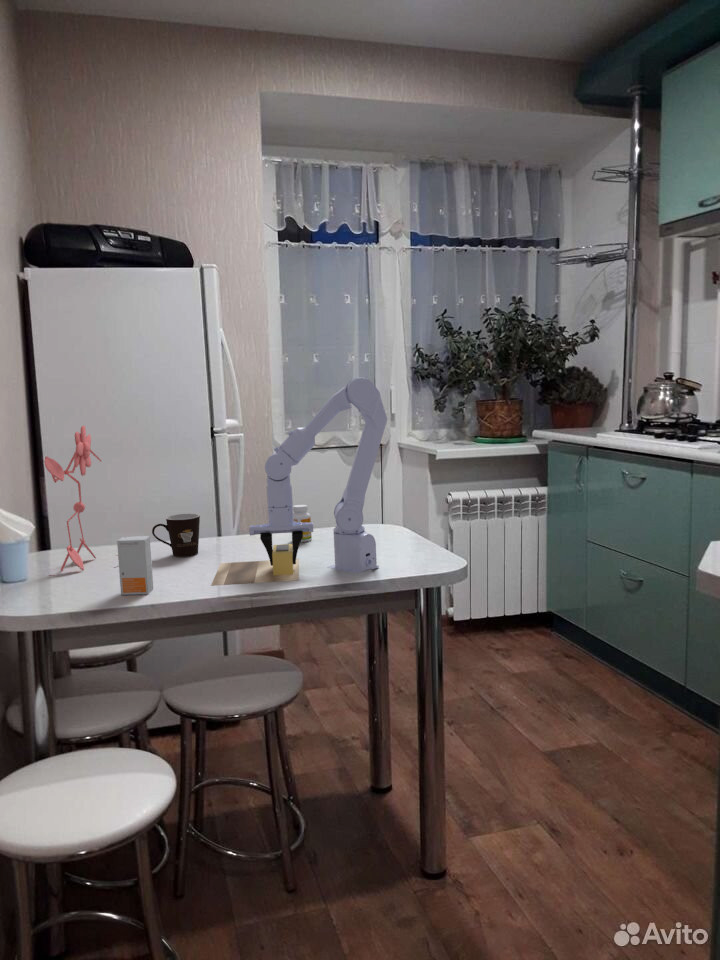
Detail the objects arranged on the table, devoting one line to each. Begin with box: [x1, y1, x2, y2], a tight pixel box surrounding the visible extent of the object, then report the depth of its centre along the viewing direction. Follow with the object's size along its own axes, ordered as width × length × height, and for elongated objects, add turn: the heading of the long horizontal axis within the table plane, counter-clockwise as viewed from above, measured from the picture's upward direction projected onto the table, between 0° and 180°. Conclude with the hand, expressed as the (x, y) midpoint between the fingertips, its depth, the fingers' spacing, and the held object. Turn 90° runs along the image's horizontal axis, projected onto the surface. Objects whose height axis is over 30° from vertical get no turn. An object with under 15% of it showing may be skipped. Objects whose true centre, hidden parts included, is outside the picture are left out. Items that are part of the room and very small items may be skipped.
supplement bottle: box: [293, 504, 312, 543], centre depth 208 cm, size 5×5×10 cm
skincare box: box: [116, 535, 154, 596], centre depth 162 cm, size 6×4×12 cm
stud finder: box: [272, 543, 293, 575], centre depth 174 cm, size 4×9×5 cm, turn 4°
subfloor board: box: [210, 558, 300, 586], centre depth 174 cm, size 19×20×1 cm
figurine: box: [44, 425, 119, 577], centre depth 187 cm, size 15×26×35 cm, turn 2°
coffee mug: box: [151, 513, 201, 558], centre depth 197 cm, size 12×9×10 cm
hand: (283, 563), depth 174 cm, fingers closed on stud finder, 4 cm apart
